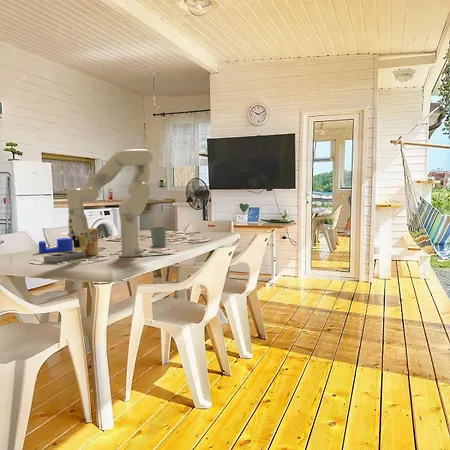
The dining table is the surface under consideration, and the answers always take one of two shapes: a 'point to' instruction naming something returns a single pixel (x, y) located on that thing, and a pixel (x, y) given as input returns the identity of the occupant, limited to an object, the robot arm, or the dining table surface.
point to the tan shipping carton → (81, 243)
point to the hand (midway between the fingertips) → (80, 246)
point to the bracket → (62, 246)
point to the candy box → (91, 242)
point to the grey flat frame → (63, 257)
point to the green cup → (158, 236)
